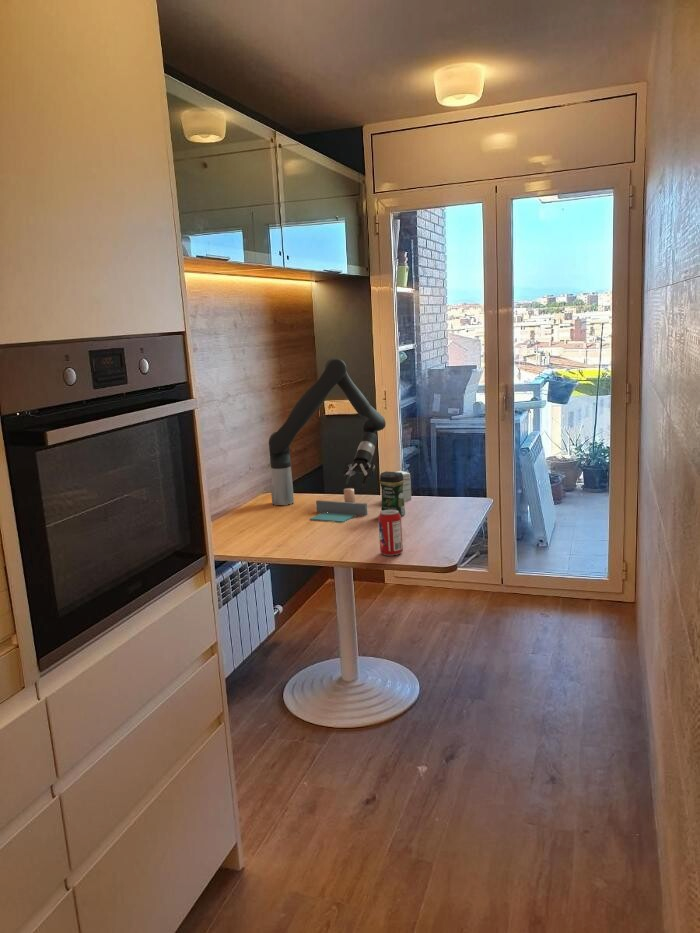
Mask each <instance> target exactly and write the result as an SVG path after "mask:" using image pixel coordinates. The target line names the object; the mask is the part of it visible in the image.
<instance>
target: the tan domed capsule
mask: <svg viewBox="0 0 700 933" xmlns="http://www.w3.org/2000/svg"><path fill="white" fill-rule="evenodd" d="M343 497H344V498H343V500H344V501H343V502H353V503H356V500H355V498H356V496H355V488H354V487H349V488H348V487H346V488H344V489H343Z"/></svg>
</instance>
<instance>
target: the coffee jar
mask: <svg viewBox="0 0 700 933" xmlns="http://www.w3.org/2000/svg"><path fill="white" fill-rule="evenodd" d="M403 483H404V479H403V474H402V473H400V472H397V471H388V470H387V471H383V472H381V473H380V474H379V484H380V488H381V509H380V512H381V511H383V510H390V509H392V510H398V511H399V514H400V515H401V518H403V516H404V515H405V514H406V508H405V502H404V498H403Z"/></svg>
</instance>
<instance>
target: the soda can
mask: <svg viewBox="0 0 700 933" xmlns="http://www.w3.org/2000/svg"><path fill="white" fill-rule="evenodd" d="M378 535H379V536H378V537H379V550H380V553H381V554H382V555H384V556H387V557H395V556H394V555H396V556H399V555H400V554H402V552H403V551H404V548H403V546H404V545H403V528H402V517H401V515H400V514H399V511H398V510H392V509H390V510H383V511H381V510H380V512H379V515H378ZM398 554H399V555H398Z"/></svg>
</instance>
